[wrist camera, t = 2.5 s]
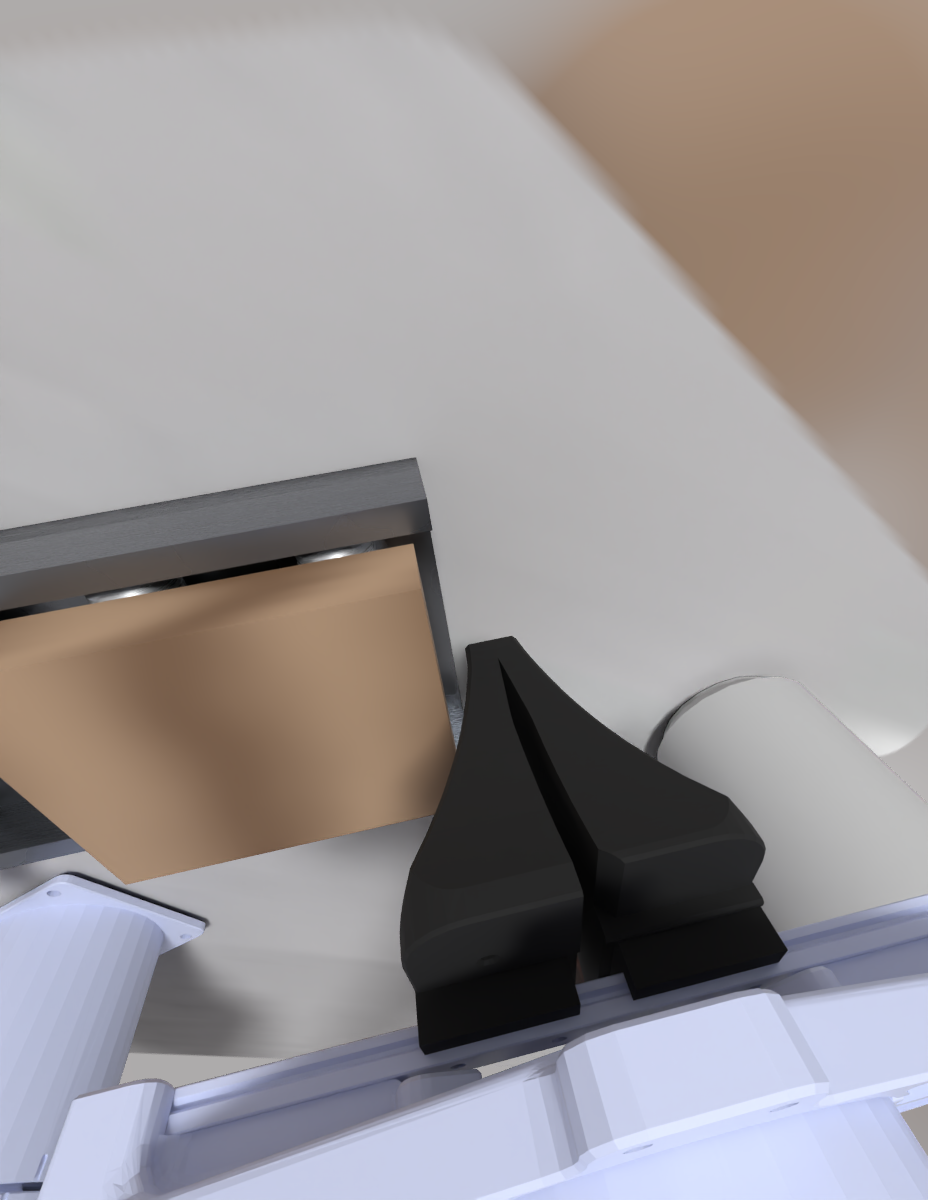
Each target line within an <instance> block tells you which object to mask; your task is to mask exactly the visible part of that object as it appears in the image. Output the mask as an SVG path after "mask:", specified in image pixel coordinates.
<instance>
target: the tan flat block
mask: <svg viewBox="0 0 928 1200" xmlns="http://www.w3.org/2000/svg"><path fill="white" fill-rule="evenodd" d="M455 752H456V746H455V741H454V736H453V732H452V727H451V722H450V717H449V712H448V708H447V703H446V698H445V693H444V688H443V684H442V679H441V674H440V669H439V664H438V659H437V655H436V650H435V645H434V640H433V635H432V631H431V626H430V621H429V616H428V611H427V607H426V602H425V597H424V592H423V587H422V582H421V578H420V573H419V568H418V563H417V558H416V554H415V549H414V544H408V545H402V546H397V547H392V548H386V549H381V550H376V551H370V552H365V553H360V554H354V555H349V556H344V557H338V558H333V559H328V560H322V561H317V562H312V563H306V564H301V565H296V566H290V567H285V568H280V569H274V570H269V571H264V572H258V573H253V574H248V575H243V576H237V577H232V578H227V579H221V580H216V581H211V582H205V583H200V584H195V585H189V586H184V587H179V588H173V589H168V590H163V591H157V592H152V593H147V594H141V595H136V596H131V597H125V598H120V599H115V600H109V601H104V602H99V603H93V604H88V605H83V606H77V607H72V608H67V609H61V610H56V611H51V612H46V613H40V614H35V615H30V616H24V617H19V618H14V619H8V620H3V621H0V778H1V779H3V780H4V781H5V782H6V783H7V784H9V785H10V786H11V787H12V788H13V789H14V790H16V791H17V792H18V793H19V794H20V795H21V796H23V797H24V798H25V799H26V800H27V801H28V802H30V803H31V804H32V805H33V806H34V807H35V808H37V809H38V810H39V811H40V812H41V813H42V814H44V815H45V816H46V817H47V818H48V819H49V820H51V821H52V822H53V823H54V824H55V825H56V826H58V827H59V828H60V829H61V830H62V831H64V832H65V833H66V834H67V835H68V836H69V837H71V838H72V839H73V840H74V841H75V842H76V843H78V844H79V845H80V846H81V847H82V848H83V849H85V850H86V851H87V852H88V853H89V854H90V855H92V856H93V857H94V858H95V859H96V860H97V861H99V862H100V863H101V864H102V865H103V866H104V867H106V868H107V869H108V870H109V871H110V872H111V873H113V874H114V875H115V876H116V877H117V878H119V879H120V880H121V881H122V882H123V883H124V884H131V883H135V882H140V881H144V880H148V879H153V878H157V877H162V876H166V875H170V874H175V873H179V872H184V871H188V870H192V869H197V868H201V867H206V866H210V865H214V864H219V863H223V862H228V861H232V860H236V859H241V858H245V857H250V856H254V855H258V854H263V853H267V852H272V851H276V850H280V849H285V848H289V847H294V846H298V845H302V844H307V843H311V842H316V841H320V840H324V839H329V838H333V837H338V836H342V835H346V834H351V833H355V832H360V831H364V830H368V829H373V828H377V827H382V826H386V825H390V824H395V823H399V822H404V821H408V820H412V819H417V818H421V817H426V816H430V815H434V814H435V812H436V810H437V807H438V805H439V802H440V800H441V797H442V794H443V791H444V789H445V786H446V783H447V779H448V776H449V773H450V770H451V767H452V763H453V760H454V756H455Z"/></svg>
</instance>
